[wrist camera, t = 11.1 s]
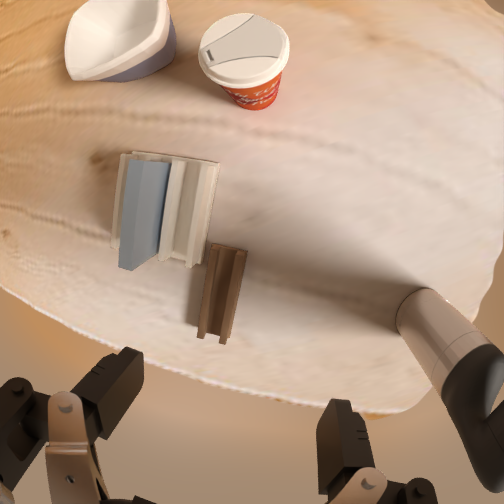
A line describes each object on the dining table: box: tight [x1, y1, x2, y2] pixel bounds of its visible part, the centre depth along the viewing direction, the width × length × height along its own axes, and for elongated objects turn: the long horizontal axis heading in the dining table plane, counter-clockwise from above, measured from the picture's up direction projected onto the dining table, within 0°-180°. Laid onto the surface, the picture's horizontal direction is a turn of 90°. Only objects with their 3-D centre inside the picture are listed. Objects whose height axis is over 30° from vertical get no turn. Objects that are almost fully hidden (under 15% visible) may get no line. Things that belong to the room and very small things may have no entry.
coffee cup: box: [198, 13, 289, 110], centre depth 26 cm, size 8×8×15 cm
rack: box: [111, 151, 220, 268], centre depth 36 cm, size 13×14×5 cm
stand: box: [197, 244, 248, 345], centre depth 40 cm, size 5×14×3 cm, turn 168°
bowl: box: [65, 0, 176, 82], centre depth 27 cm, size 15×15×11 cm
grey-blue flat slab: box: [118, 159, 172, 271], centre depth 32 cm, size 2×12×10 cm, turn 167°
